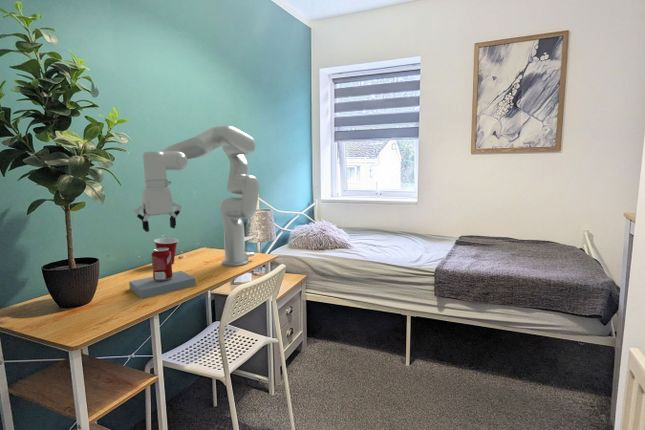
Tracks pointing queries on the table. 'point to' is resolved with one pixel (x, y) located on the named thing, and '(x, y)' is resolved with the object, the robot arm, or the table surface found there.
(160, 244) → the plastic cup
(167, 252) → the soda can
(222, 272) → the table surface
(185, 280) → the block
